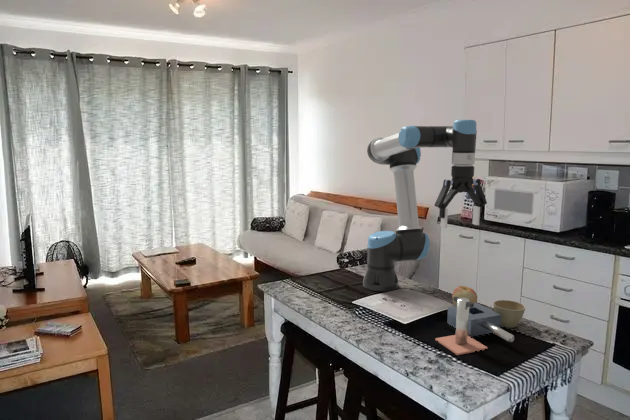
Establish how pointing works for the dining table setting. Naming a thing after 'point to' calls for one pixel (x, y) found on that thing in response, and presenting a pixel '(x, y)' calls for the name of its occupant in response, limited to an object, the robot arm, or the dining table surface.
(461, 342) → the key
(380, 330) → the dining table surface
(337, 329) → the dining table surface
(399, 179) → the robot arm
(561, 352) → the dining table surface
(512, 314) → the beige bowl
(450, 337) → the mat
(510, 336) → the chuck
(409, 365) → the dining table surface
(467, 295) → the apple
